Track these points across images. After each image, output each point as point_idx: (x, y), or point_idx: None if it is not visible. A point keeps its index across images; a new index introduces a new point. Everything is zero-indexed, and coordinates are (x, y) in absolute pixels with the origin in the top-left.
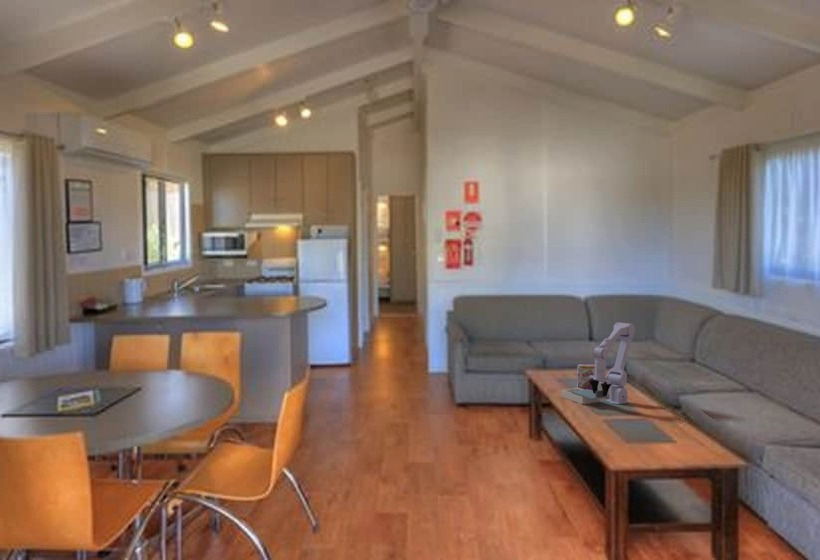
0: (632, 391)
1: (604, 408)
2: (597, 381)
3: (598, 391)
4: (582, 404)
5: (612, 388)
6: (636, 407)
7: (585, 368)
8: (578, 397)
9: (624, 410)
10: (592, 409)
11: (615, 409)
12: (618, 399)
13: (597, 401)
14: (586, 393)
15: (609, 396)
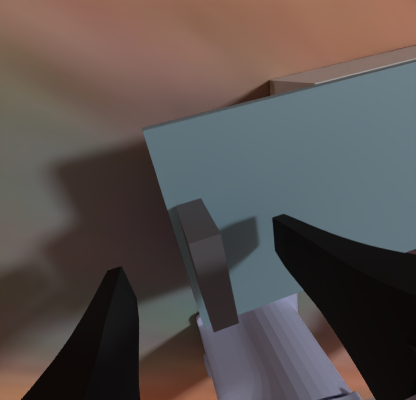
0: (362, 395)
1: (114, 209)
2: (384, 384)
3: (201, 265)
4: (271, 81)
5: (292, 392)
6: None
7: None
8: (359, 67)
9: (35, 317)
10: (91, 89)
11: (71, 272)
12: (209, 346)
13: None
14: (359, 166)
15: (201, 319)
